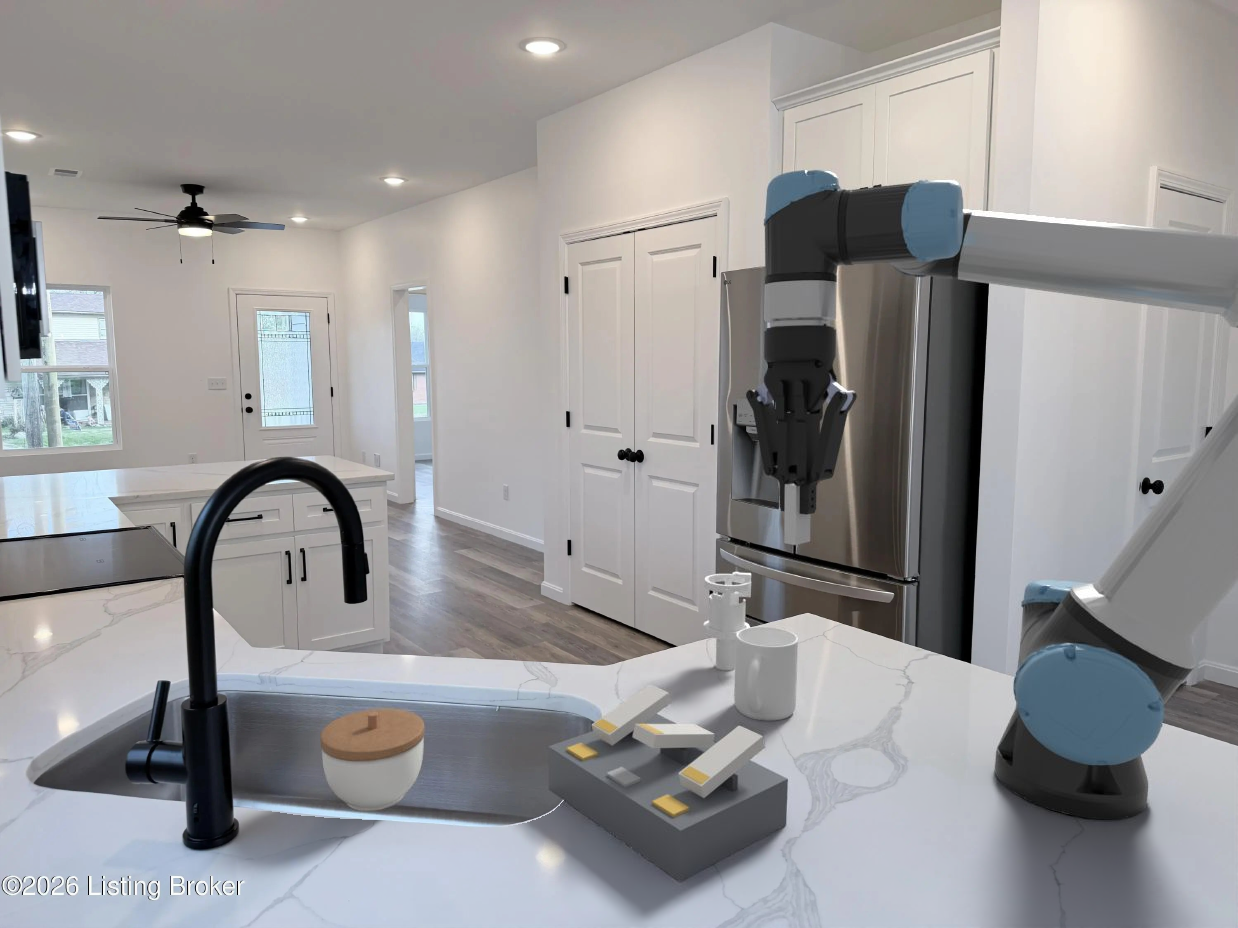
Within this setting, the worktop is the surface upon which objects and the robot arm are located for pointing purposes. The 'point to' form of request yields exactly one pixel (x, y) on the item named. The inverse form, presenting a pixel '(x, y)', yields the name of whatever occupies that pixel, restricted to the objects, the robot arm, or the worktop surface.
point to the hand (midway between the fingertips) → (797, 542)
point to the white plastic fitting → (726, 614)
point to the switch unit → (666, 800)
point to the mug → (765, 673)
